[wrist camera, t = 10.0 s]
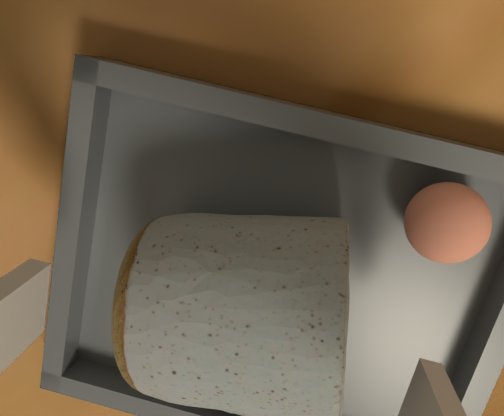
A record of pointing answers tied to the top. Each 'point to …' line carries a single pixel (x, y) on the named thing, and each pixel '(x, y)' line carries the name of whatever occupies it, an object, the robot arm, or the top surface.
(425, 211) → the ball
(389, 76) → the top surface
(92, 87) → the tray
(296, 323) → the ceramic mug
